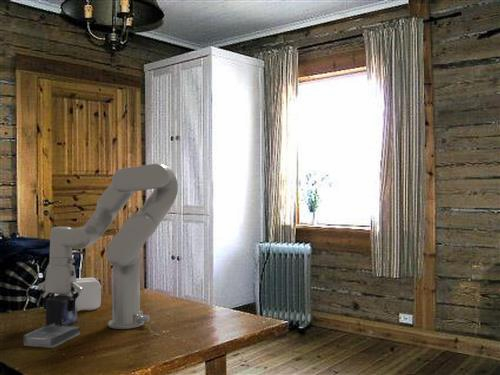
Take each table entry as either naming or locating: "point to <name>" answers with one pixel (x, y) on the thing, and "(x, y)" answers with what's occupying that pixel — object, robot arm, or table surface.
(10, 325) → the table surface
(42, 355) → the table surface
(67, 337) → the rail seat
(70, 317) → the small box
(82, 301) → the cable organizer
